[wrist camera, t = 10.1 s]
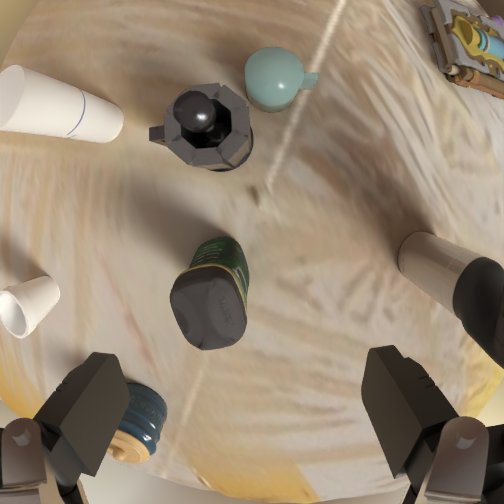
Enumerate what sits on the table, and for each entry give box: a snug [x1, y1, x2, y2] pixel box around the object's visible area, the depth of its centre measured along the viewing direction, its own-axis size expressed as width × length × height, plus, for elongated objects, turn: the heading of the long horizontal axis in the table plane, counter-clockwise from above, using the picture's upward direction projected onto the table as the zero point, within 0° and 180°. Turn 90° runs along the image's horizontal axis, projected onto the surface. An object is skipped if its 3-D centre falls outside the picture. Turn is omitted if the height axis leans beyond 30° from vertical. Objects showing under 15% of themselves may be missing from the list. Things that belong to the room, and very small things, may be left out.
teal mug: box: [245, 47, 318, 113], centre depth 36 cm, size 10×8×9 cm
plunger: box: [173, 91, 231, 148], centre depth 29 cm, size 4×4×18 cm
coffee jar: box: [170, 237, 249, 350], centre depth 38 cm, size 10×8×19 cm
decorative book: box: [420, 0, 504, 100], centre depth 30 cm, size 25×27×11 cm
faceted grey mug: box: [149, 83, 253, 172], centre depth 35 cm, size 12×10×15 cm
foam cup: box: [0, 276, 60, 339], centre depth 43 cm, size 10×9×13 cm
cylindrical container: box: [0, 65, 124, 143], centre depth 29 cm, size 7×7×25 cm
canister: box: [107, 383, 167, 463], centre depth 47 cm, size 13×13×18 cm
